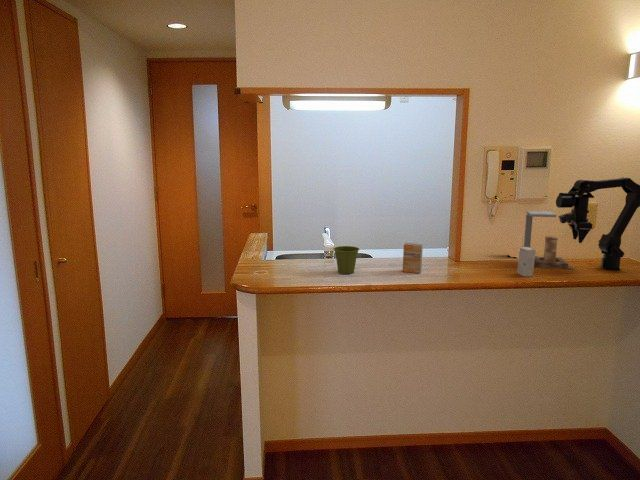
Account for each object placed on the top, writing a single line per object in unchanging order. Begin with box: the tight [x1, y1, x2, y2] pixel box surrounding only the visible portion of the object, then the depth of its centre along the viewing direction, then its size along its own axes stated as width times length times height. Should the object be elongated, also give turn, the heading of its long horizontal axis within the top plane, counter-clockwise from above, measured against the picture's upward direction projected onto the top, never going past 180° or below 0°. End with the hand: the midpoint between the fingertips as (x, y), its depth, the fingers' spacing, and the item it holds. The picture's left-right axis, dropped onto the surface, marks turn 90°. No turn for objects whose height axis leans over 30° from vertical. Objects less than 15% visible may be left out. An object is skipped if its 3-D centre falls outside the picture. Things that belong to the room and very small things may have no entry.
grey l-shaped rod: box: [523, 210, 557, 248], centre depth 219 cm, size 12×12×25 cm
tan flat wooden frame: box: [534, 255, 575, 271], centre depth 219 cm, size 18×16×2 cm
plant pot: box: [332, 245, 360, 275], centre depth 206 cm, size 12×12×11 cm
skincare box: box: [516, 246, 537, 277], centre depth 200 cm, size 6×4×12 cm
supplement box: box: [402, 242, 424, 274], centre depth 207 cm, size 8×5×13 cm, turn 70°
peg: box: [543, 235, 558, 262], centre depth 218 cm, size 5×5×13 cm
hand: (577, 241), depth 210 cm, fingers open, 9 cm apart
